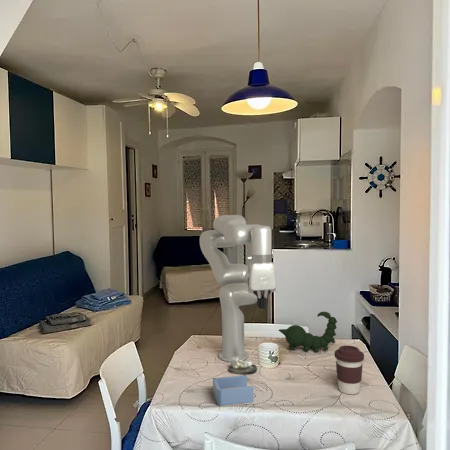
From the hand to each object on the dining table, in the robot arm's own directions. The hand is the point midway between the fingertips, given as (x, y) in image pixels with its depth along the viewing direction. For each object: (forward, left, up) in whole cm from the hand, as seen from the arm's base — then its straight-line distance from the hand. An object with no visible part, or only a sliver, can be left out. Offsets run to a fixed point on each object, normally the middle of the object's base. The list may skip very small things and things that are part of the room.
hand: (261, 307), depth 155 cm
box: (+12, -14, -27) cm, 33 cm away
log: (-10, -5, -28) cm, 30 cm away
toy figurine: (-24, +28, -27) cm, 46 cm away
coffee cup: (+16, +27, -27) cm, 42 cm away
